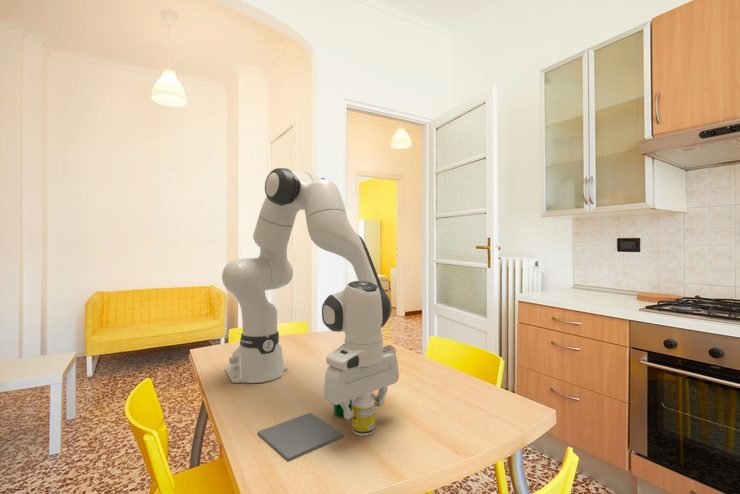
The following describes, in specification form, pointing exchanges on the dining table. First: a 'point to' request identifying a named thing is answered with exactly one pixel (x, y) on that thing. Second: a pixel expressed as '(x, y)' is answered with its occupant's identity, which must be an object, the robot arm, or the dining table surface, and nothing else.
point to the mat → (299, 436)
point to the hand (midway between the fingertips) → (364, 411)
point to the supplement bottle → (363, 415)
